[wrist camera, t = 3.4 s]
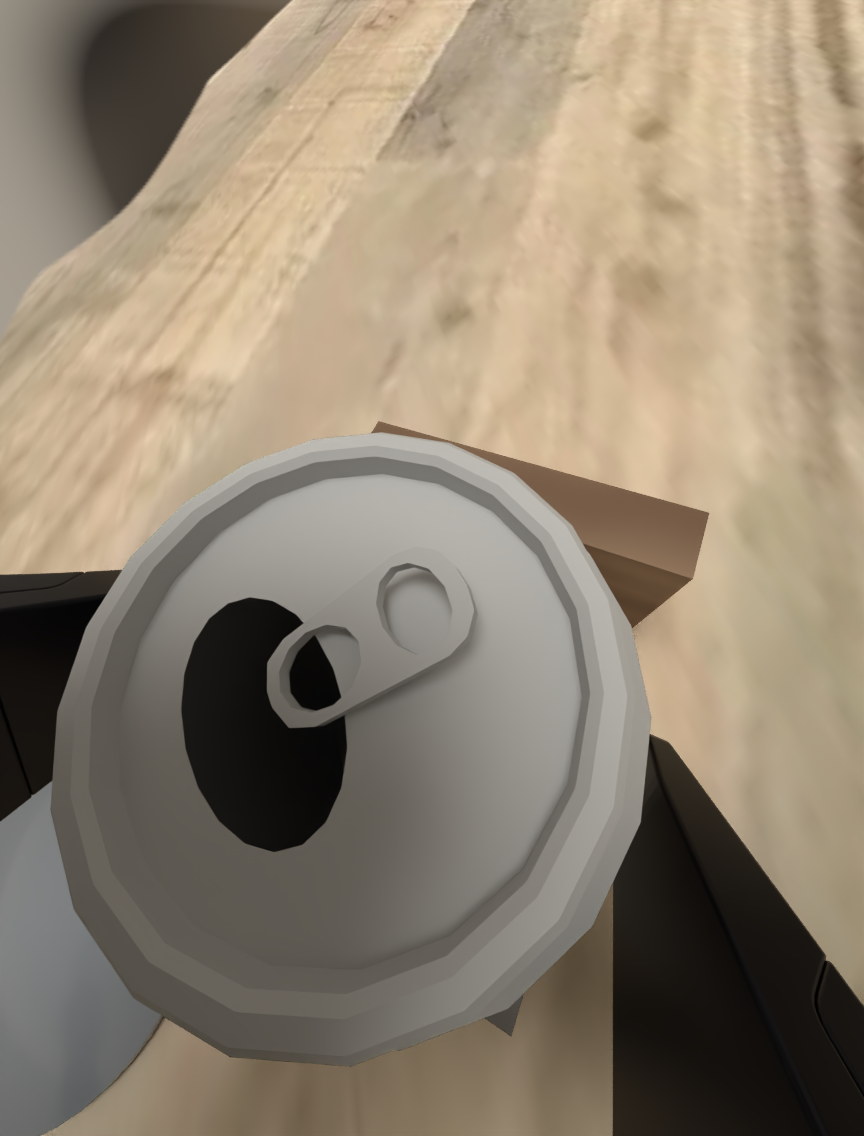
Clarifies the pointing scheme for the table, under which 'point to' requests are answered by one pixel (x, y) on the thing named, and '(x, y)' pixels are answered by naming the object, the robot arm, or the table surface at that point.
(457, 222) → the table surface
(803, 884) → the table surface
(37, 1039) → the coaster
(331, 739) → the can
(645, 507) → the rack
